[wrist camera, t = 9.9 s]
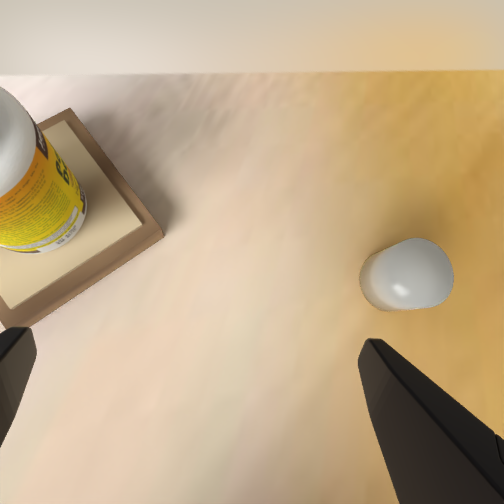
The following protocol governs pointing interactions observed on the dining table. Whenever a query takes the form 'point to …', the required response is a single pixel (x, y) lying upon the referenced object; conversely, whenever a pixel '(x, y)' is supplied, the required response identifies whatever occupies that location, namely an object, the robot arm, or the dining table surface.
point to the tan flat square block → (85, 240)
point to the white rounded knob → (407, 276)
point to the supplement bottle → (34, 186)
